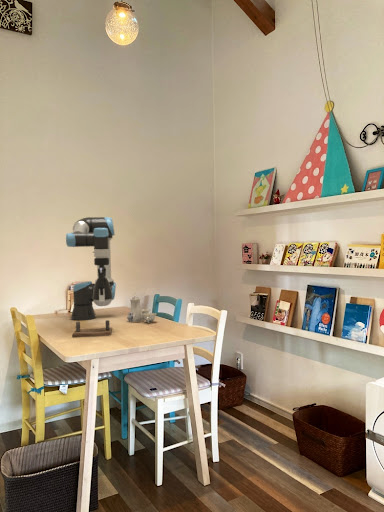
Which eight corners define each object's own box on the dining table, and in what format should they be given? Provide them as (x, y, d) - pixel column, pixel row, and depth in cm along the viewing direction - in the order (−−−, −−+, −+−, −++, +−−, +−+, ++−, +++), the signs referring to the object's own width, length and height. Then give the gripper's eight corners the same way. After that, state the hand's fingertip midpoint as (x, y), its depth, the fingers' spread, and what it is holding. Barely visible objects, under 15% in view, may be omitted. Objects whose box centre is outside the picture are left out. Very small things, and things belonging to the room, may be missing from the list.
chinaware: (160, 326, 235) (162, 297, 236) (133, 325, 228) (135, 296, 229) (145, 318, 261) (147, 293, 261) (120, 318, 254) (122, 292, 254)
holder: (76, 332, 214) (76, 320, 214) (112, 330, 217) (112, 318, 216) (72, 337, 201) (71, 324, 201) (110, 335, 204) (110, 322, 204)
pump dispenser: (95, 307, 203) (95, 277, 202) (90, 305, 212) (89, 276, 211) (115, 305, 207) (114, 276, 207) (109, 303, 217) (108, 275, 216)
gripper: (96, 257, 220) (97, 297, 220) (92, 258, 197) (93, 303, 198) (110, 256, 221) (111, 297, 221) (107, 257, 198) (108, 302, 199)
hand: (102, 300), depth 210 cm, fingers closed on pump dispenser, 10 cm apart
